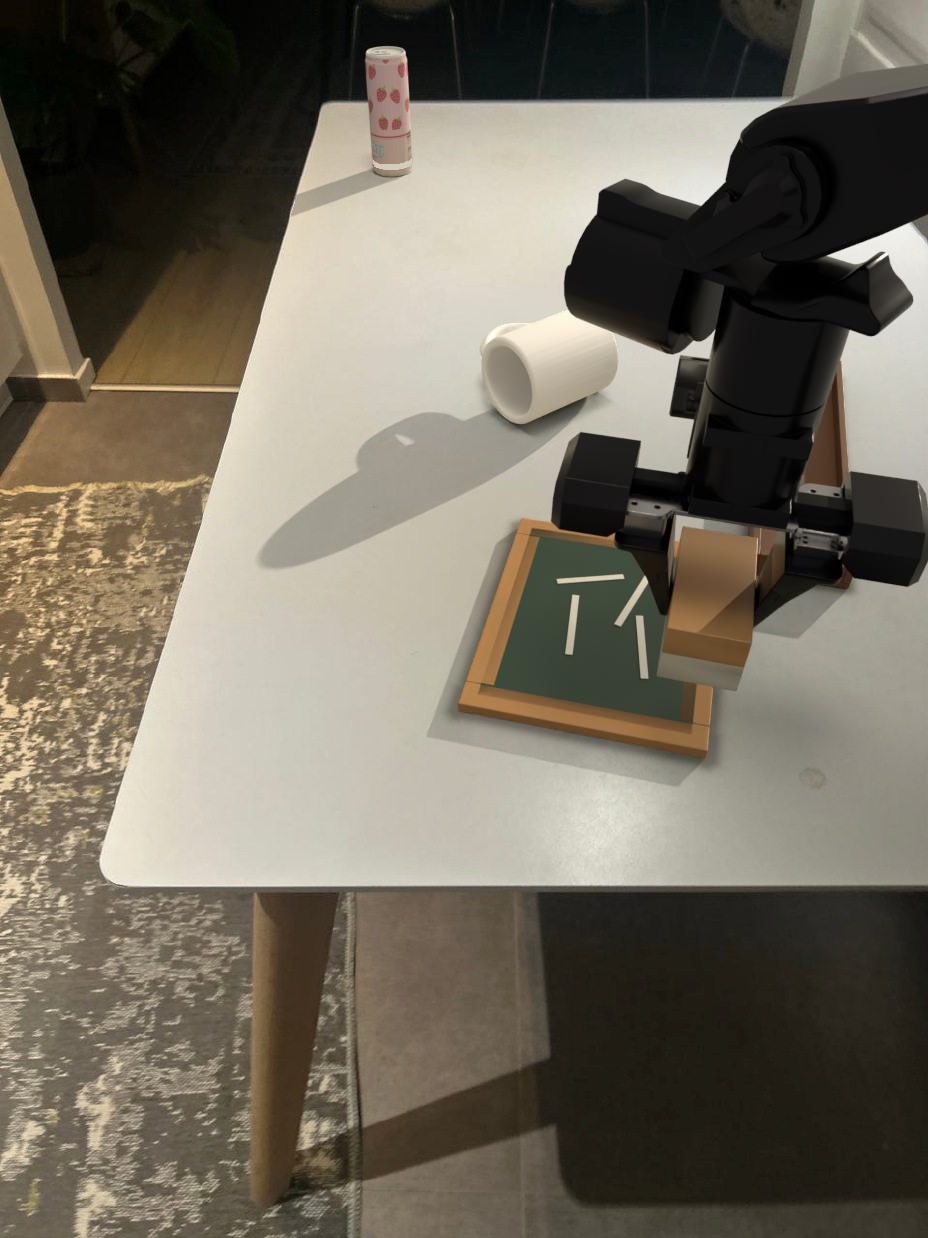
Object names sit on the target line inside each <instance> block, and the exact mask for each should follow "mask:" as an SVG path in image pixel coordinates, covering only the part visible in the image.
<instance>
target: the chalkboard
mask: <svg viewBox="0 0 928 1238" xmlns="http://www.w3.org/2000/svg"><path fill="white" fill-rule="evenodd" d="M614 536H615V533H614V534H612V535H610V536H609V537H601V536H595V535H589V534H583V533H577V532H571V531H565V530H559V529H558V528H557V527H556V526H555V525H554V524H553V523H552V522H551V521H546V520H545V521H544V520H538V519H531V518H524V517H521V518H520V521H519V524H518V527H517V530H516V532H515V536H514V538H513V542H512V545H511V548H510V550H509V554H508V557H507V560H506V562H505V565H504V568H503V570H502V574H501V577H500V579H499V583H498V586H497V588H496V592H495V594H494V597H493V600H492V603H491V606H490V609H489V612H488V615H487V617H486V620H485V623H484V627H483V629H482V632H481V635H480V638H479V641H478V644H477V647H476V650H475V653H474V655H473V658H472V662H471V665H470V668H469V670H468V673H467V676H466V679H465V682H464V685H463V688H462V690H461V693H460V696H459V699H458V701H457V709H458V712H463V713H468V714H474V715H479V716H484V717H489V718H495V719H499V720H500V719H501V720H504V721H509V722H516V723H521V724H525V725H530V726H535V727H541V728H546V729H552V730H557V731H561V732H568V733H572V734H577V735H583V736H588V737H593V738H598V739H603V740H607V741H608V740H609V741H612V742H619V743H623V744H629V745H633V746H634V745H635V746H638V747H639V746H640V747H644V748H649V749H655V750H660V751H665V752H671V753H675V754H681V755H686V756H691V757H695V758H696V757H697V758H701V759H706V758H707V754H708V750H709V742H710V741H709V740H710V728H711V718H712V706H713V695H714V687H710V686H705V685H700V684H695V683H690V682H684V681H679V680H674V679H669V678H663V677H658V676H657V669H658V663H659V657H660V650H661V644H662V637H663V631H664V624H665V618H666V616H664V615H660V613H659V610H658V607H657V605H656V602H655V599H654V596H653V594H652V591H651V588H650V585H649V583H648V581H647V578H646V577H645V575H644V573H643V571H642V570H641V568H640V566H639V565H638V563H637V562H636V560H635V558H634V557H633V555H632V553H630V552H628V551H623V550H620V549H618V548H617V547H616V546H615V545H614ZM678 545H679V541H676V540H675V545H674V563H675V559H676V554H677V550H678ZM673 568H674V567H673Z"/></svg>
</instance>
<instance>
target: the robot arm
mask: <svg viewBox="0 0 928 1238" xmlns="http://www.w3.org/2000/svg"><path fill="white" fill-rule="evenodd" d="M724 180H725V182H723V184H722V185H720V186H719V188H717V189H716V190H715V191H714V192H713V194H711V195H710V196H709V197H708V199H707V200H705V201H704V203H703V204H701V205H700V204H697V203H694V202H690V201H686V200H683V199H681V198H677V197H673V196H671V195H666V194H664V193H661V192H658V191H656V190H655V189H653V188H651V187H650V186H648V185H647V184H644V183H642V182H638V181H635V180H631V179H629V178H624V179H621V180H618V181H617V182H615V183H613V184H611V185H608V186H606V187H604V188H602V189H601V190H600V191H598V196H597V197H598V198H597V205H596V206H597V207H596V214H595V215H594V216H593V217H592V218H591V220H590V221H589V223H588V224H587V225H586V226H585V228H584V229H583V232H582V234H581V236H580V237H579V239H578V241H577V244H576V246H575V249H574V251H573V254H572V257H571V261H570V264H568V265H567V266H566V268H565V270H564V276H563V277H564V279H563V297H564V302H565V306H566V309H567V310H569V312H570V313H571V314H572V315H573V316H574V317H576V318H578V319H580V320H583V321H585V322H588V323H590V324H593V325H596V326H598V327H601V328H603V329H606V330H608V331H611V332H613V334H616V335H619V336H621V337H624V338H626V339H628V340H631V341H632V342H633V341H634V342H636V343H639V344H641V345H644V346H646V347H649V348H651V349H654V350H657V351H658V352H661V353H664V354H666V355H673V356H674V355H676V354H680V353H681V352H683V351H685V349H687V348H688V347H689V346H690V345H691V344H692V343H693V342H697V343H699V342H700V343H701V342H703V341H705V340H707V339H708V338H709V337H710V336H711V335H712V334H713V333H714V334H713V339H712V344H711V348H710V353H709V358H707V357H700V356H699V357H698V356H692V355H691V356H690V355H683V354H680V355H679V357H678V363H677V369H676V373H675V374H676V375H675V379H674V384H673V385H674V386H673V390H672V396H671V401H670V405H669V412H668V415H669V416H670V417H671V418H677V419H678V418H679V419H685V420H693V423H692V427H691V432H690V437H689V441H688V447H687V454H686V459H687V464H686V469H685V471H681V470H680V471H678V472H671V471H665V470H659V469H651V468H644V467H638V464H639V459H640V454H641V447H642V440H639V439H632V438H626V437H618V436H611V435H606V434H605V435H604V434H597V433H590V432H583V431H579V432H578V433H577V434H576V435H575V436H573V437H572V438H571V439H569V440H568V443H567V446H566V449H565V452H564V456H563V458H562V462H561V465H560V468H559V470H558V473H557V477H556V480H555V484H554V490H553V495H552V503H551V515H550V522H551V523H553V524H554V525H555V526H556V527H557V528H558V529H559V530H565V531H571V532H577V533H583V534H589V535H595V536H601V537H609V536H610V535H612V534H614V533H615V536H614V545H615V546H616V547H617V548H618V549H620V550H623V551H628V552H630V553H632V555H633V557H634V558H635V560H636V562H637V563H638V565H639V566H640V568H641V570H642V571H643V573H644V575H645V577H646V578H647V581H648V583H649V585H650V588H651V591H652V594H653V596H654V599H655V602H656V605H657V607H658V610H659V613H660V615H664V616H666V615H667V612H668V608H669V604H670V598H671V591H672V585H673V567H674V545H675V541H676V525H677V524H676V521H677V516H680V517H687V518H693V519H700V520H706V521H711V522H712V521H713V522H720V523H725V524H730V525H731V524H732V525H738V526H743V527H748V528H749V527H756V528H762V529H768V530H775V531H778V532H777V535H776V538H775V541H774V544H773V546H772V548H771V551H770V553H769V555H768V557H767V559H766V562H765V564H764V566H763V568H762V571H761V573H760V575H758V578H757V579H756V585H755V602H754V620H753V629H754V628H755V627H757V626H758V625H760V624H761V623H762V622H763V621H765V620H766V619H767V618H769V617H770V616H771V615H773V614H774V613H775V612H776V611H778V610H779V609H780V608H782V607H783V606H785V605H786V604H788V603H789V602H791V601H792V600H794V599H796V598H798V597H799V596H802V595H803V594H805V593H807V592H809V591H810V590H812V589H814V588H815V587H817V586H819V585H821V584H826V585H825V586H827V585H835V584H838V583H839V582H840V580H841V578H842V576H843V565H844V567H845V568H846V569H847V570H848V572H849V573H850V574H851V575H852V576H853V578H852V579H856V580H862V581H868V582H875V583H880V584H887V585H893V586H899V587H904V588H905V587H906V588H909V587H911V586H913V585H915V584H916V583H919V581H920V580H921V578H922V575H923V573H924V571H925V569H926V567H927V564H928V499H927V498H928V497H927V493H926V491H925V490H924V488H923V487H922V485H921V483H920V481H919V480H915V479H909V478H901V477H900V478H899V477H894V476H887V475H881V474H874V473H873V474H872V473H866V472H859V471H853V470H849V473H847V474H846V475H845V477H844V480H843V483H842V485H841V488H840V487H833V486H826V485H819V484H812V483H808V484H804V485H802V486H801V487H800V485H801V482H802V479H803V476H804V473H805V470H806V466H807V463H808V460H809V457H810V454H811V451H812V448H813V444H814V441H815V438H816V435H817V432H818V429H819V426H820V422H821V419H822V416H823V413H824V410H825V407H826V404H827V400H828V397H829V394H830V390H831V387H832V384H833V381H834V378H835V375H836V372H837V369H838V365H839V362H840V361H841V359H842V356H843V353H844V350H845V346H846V344H847V341H848V337H849V333H850V331H852V332H854V333H857V334H859V335H863V336H866V337H871V338H872V337H875V336H877V335H879V334H880V333H881V332H882V331H883V330H885V329H887V327H888V326H890V325H891V324H892V323H893V322H894V321H895V320H897V319H898V318H899V317H900V316H902V315H903V314H904V313H905V312H906V311H907V310H908V309H910V308H911V307H912V305H913V304H914V295H913V294H912V292H911V290H909V288H908V287H907V285H906V284H905V282H904V281H903V280H902V279H901V277H900V276H898V274H897V273H896V272H895V270H894V269H893V266H892V264H891V260H890V259H891V258H890V255H889V254H888V252H886V251H879V252H877V253H876V254H874V255H873V256H872V257H870V258H869V259H867V260H866V261H863V262H861V263H852V262H848V261H845V260H842V259H839V258H836V257H832V256H830V255H833V254H835V253H838V252H841V251H843V250H845V249H849V248H851V247H854V246H856V245H860V244H862V243H864V242H865V243H866V242H867V241H870V240H872V239H875V238H878V237H880V236H883V235H885V234H888V233H890V232H892V231H895V230H897V229H899V228H901V227H903V226H906V225H908V224H910V223H912V222H914V221H917V220H919V219H921V218H924V217H926V216H928V63H924V64H923V63H922V64H914V65H907V66H906V65H905V66H900V67H899V66H898V67H889V68H883V69H882V68H881V69H874V70H867V71H866V70H865V71H857V72H853V73H849V74H845V75H842V76H840V77H838V78H836V79H833V80H832V81H830V82H827V83H825V84H823V85H821V86H819V87H817V88H815V89H813V90H810V91H807V92H806V93H804V94H801V95H800V96H798V97H795V98H793V99H792V100H789V101H787V102H785V103H783V104H781V105H779V106H776V107H775V108H772V109H770V110H768V111H767V112H766V111H765V113H763V114H761V115H759V116H758V117H755V118H754V119H753V120H752V121H750V123H748V124H747V125H746V126H745V127H744V128H743V129H742V131H741V132H740V134H739V138H738V140H737V142H736V144H735V146H734V148H733V150H732V152H731V154H730V156H729V161H728V165H727V170H726V175H725V179H724ZM843 547H846V548H845V550H844V548H843ZM843 550H844V553H843ZM842 553H843V555H842Z"/></svg>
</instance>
